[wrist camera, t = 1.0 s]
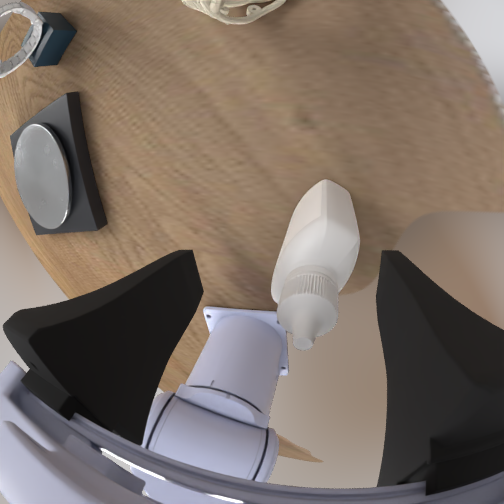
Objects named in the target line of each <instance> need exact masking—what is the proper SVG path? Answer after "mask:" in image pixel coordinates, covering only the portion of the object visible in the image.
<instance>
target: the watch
mask: <svg viewBox="0 0 504 504" xmlns="http://www.w3.org/2000/svg"><path fill="white" fill-rule="evenodd" d="M10 11H11V12H14V13H19V14H21V15H23V16H25V17H27V18H29V19H30V20H31V23H32V25H31V27H30V28H29V30H28V32H27V34H26V36H25V38H24V40H23V42H22V45H21V46H22V48H21V50H20V51H18V52H17V53H16V54H15V55H14V56H15V57H14V56H13V57H11V58H10V59H8V60H7V61H4V62H2V61H1V60H0V78H2V77H5V76H6V75H7V74H9V73H10V72H12V71H14V70H15V69H16V68H18V67H19V66H20V65H21V64H23V63H24V62H25V61H26V59H28V58H29V59H30V61H31V62H32V64H33V66H34V67H38V66H50V65H57V64H58V62H59V60H60V59H61V57H62V55H63V53H64V52H65V50H66V48H67V46H68V45H69V43H70V41H71V40H72V38H73V37H74V35H75V33H76V32H77V31H76V30H75V29H74V27H73V26H72V25H71V24H70V23H69V22H68V21H67V20H66V19H65V18H64V17H63V16H62V15H61V14H60V13H51V12H38V14H36V12H35V11H34V10H33V9H32V8H31V7H30V6H29V5H27V4H25V3H23V2H19V3H17V2H15V3H8V4H6V5H3V6H1V7H0V17H1V15H2V16H3V15H5V14H8V13H10ZM18 57H19V58H18ZM19 59H20V60H19ZM18 64H19V65H18Z"/></svg>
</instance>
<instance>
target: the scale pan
mask: <svg viewBox="0 0 504 504" xmlns="http://www.w3.org/2000/svg"><path fill="white" fill-rule="evenodd" d="M14 169H15V178H16V183H17V187H18V191H19V194H20V197H21V199H22V202H23V204H24V206H25V208H26V209H27V211H28V212H29V214H30V215H31V217H32V218H33V219H34V220H35V221H36V222H37V223H38V224H39V225H41V226H42V227H45V228H47V229H55V228H57V227H59V226H61V225H62V224H63V223H64V222H65V221H66V219H67V217H68V215H69V212H70V209H71V204H72V180H71V173H70V168H69V163H68V160H67V156H66V153H65V151H64V148H63V146H62V144H61V142H60V140H59V138H58V137H57V135H56V134H55V133H54V131H53V130H52V129H51V128H49V127H48V126H47V125H45V124H41V123H36V124H33V125H30V126H28V127H27V128H26V129H25V130H24V131H23V132H22V133H21V135H20V137H19V139H18V142H17V146H16V150H15V158H14Z"/></svg>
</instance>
